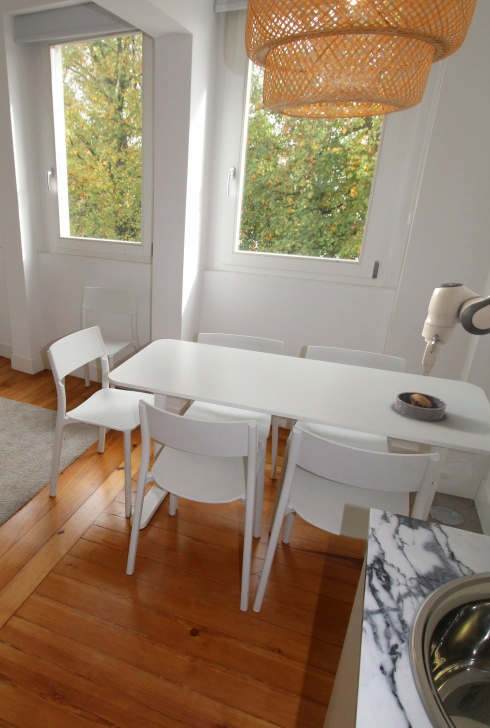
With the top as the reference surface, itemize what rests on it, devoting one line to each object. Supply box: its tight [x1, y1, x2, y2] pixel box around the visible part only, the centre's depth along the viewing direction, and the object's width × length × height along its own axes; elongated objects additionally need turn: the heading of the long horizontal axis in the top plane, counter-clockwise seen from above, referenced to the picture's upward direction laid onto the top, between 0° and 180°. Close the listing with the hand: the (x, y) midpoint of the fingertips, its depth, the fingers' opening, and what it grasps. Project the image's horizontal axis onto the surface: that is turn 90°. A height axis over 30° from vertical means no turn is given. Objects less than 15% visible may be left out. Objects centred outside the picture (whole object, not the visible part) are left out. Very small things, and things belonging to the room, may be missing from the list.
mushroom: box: [410, 394, 432, 409], centre depth 164 cm, size 8×8×6 cm
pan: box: [394, 391, 447, 421], centre depth 164 cm, size 15×15×4 cm
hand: (427, 371), depth 160 cm, fingers open, 8 cm apart
